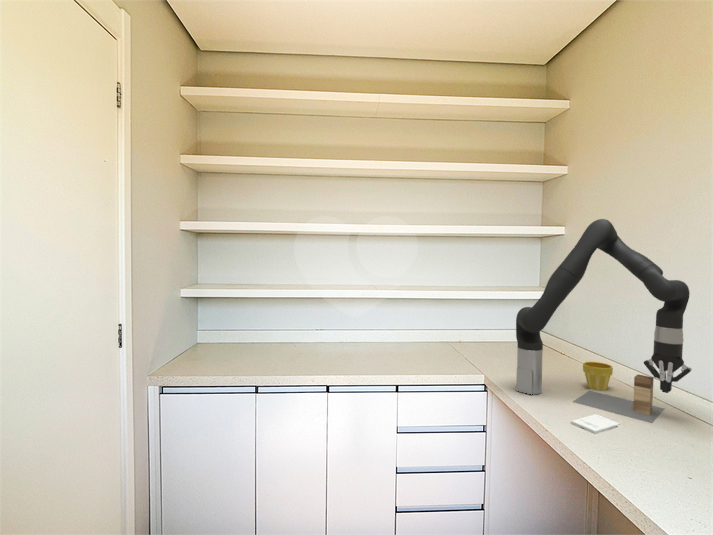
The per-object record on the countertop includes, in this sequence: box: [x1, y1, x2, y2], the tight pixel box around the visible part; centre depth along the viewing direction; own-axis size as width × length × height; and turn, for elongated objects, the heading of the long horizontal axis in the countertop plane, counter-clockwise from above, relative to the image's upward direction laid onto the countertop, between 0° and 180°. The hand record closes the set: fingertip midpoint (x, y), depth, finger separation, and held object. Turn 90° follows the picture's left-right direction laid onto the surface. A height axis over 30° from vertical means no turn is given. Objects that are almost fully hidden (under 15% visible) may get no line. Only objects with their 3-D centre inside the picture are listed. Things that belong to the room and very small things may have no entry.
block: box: [633, 373, 655, 415], centre depth 137 cm, size 4×4×12 cm
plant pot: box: [582, 361, 614, 391], centre depth 162 cm, size 10×10×10 cm
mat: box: [572, 390, 665, 424], centre depth 143 cm, size 18×24×1 cm
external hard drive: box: [570, 413, 621, 435], centre depth 128 cm, size 2×8×12 cm
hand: (665, 392), depth 132 cm, fingers closed
